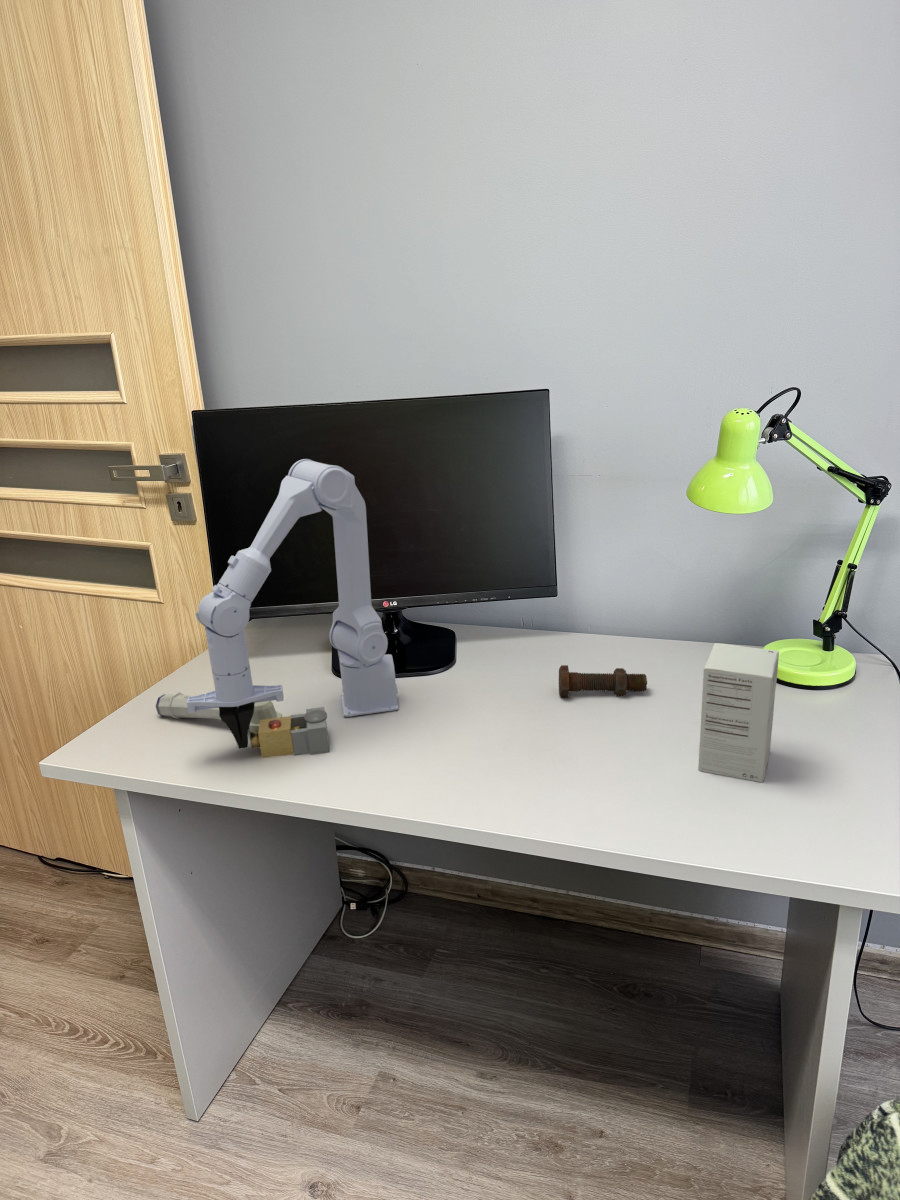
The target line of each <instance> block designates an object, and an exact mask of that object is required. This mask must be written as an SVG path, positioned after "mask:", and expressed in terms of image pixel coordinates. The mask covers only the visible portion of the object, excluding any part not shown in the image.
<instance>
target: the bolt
mask: <svg viewBox="0 0 900 1200" xmlns="http://www.w3.org/2000/svg"><path fill="white" fill-rule="evenodd" d="M647 685H648V679H647V675H646V674H645V673H627V671H626V669H625V668H622V667H621V668H619V667H617V668H615V669H614V671H613V673H610V672H609V673H608V672H607V673H606V672H605V673H604V672H602V673H601V672H597V673H595V672H591V673H590V672H576V671H575V672H573V671H571V672H570V670H569V665H568V664H567V665H566V664H565V665H564V664H563V665H562V664H561V666H560V667H559V668H558V696H559V697H560V698H561V699H569V695H570V693H572V692H574V693H575V692H576V693H578V692H613V694H614V695H615V696H616V697H625V696H626V695H627V692H633V693H634V692H635V693H636V692H637V693H638V692H641V693H642V692H645V691H647V689H648V686H647Z"/></svg>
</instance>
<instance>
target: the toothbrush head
mask: <svg viewBox="0 0 900 1200" xmlns="http://www.w3.org/2000/svg"><path fill="white" fill-rule="evenodd" d="M192 696H193V695H187V694H183V693H182V692H176V693H175V694H171V693H170V694H169V693H168V694H166V693H164V694H162V695H160V696H158V698H157V700H156V703H155V709H156V712H157V715H158V716H159V715H160V716H161V717H166V718H167V717H168V718H169V717H170V718H174V719H176V720H179V719H181V718H185V719H186V718H189V719H191V718H192V719H194V718H196V719H214V720H215V719H218V720H221V718H220V716H219V713H220V712H219V708H212V709H204V710H197V711H196V712H195V713H189V712H188V707H187V700H188V697H192ZM280 717H283V714H282V713H281V712H279V711H276V708H275V705H274V703H273V702H272V701H265V702H257V703H255V705H254V713H253V717H252V719H251V722H250V726H249V731H250V732H254V731H258V730H259V722H260V720H264V719H272V718H280Z"/></svg>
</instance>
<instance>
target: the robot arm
mask: <svg viewBox="0 0 900 1200" xmlns="http://www.w3.org/2000/svg"><path fill="white" fill-rule="evenodd" d="M355 481H356V480H355V475H353V474H352V473H350V472H349V471H348V470H346V469H344V467H342V466H339V465H335V464H334V465H333V464H328V463H323V462H318V461H314V460H312V459H309V458H303V459H300V460H298V461H296V462H295V463H293V464H292V466H291V467H290V469H289V470H288V474H287V475H285V477H284V478H283V479H282V480H281V483H280V486H279V491H278V495H277V497H276V499H275V501H274V502H273V505H272V506H271V508H270V509H269V511H268V513H267V515H266V517H265V519H264V521H263V522H262V524H261V526H260V528H259V530H258V531H257V533H256V536H255V537H254V539H253V541H252V543H251V545H250V546H249V547H248V548H243V549H241V550H240V549H239V550H238V551H237V552H236V554H235V556H234V555H231V556H230V557H229V559H228V561H227V564H228V566H227V569H226V570H225V571H224V573H223V575H222V576H221V578H220V579H219V581H218V583H217V584H215V585H213V587H212V589H211V592H209V593H208V594H206V595H204V596H203V597H202V599H201V600H200V602H199V604H198V607H197V610H198V611H197V612H195V617H196V619H197V621H198V622H199V623H200V625H202V626H203V627H204V628H205V629H204V630H205V631H204V632H205V636H206V644H207V649H208V655H209V662H210V667H211V672H212V674H211V675H212V679H213V685H214V690H212V691H209V692H205V693H201V694H198V695H197V694H196V695H191V696H192V697H188V700H187V707H188V712H189V713H195V712H196V711H197V710H204V709H212V708H219V712H220V713H219V716H220V718H221V719H220V720H221V721H222V723H223V724H225V726H226V727H227V729H229V731H230V733H231V734H232V736H233V737H234V740H235V742H236V744H237V747H238V749H244V748H248V745H249V736H248V735H249V731H250V728H249V726H250V722H251V719H252V717H253V713H254V705H255V703H257V702H265V701H271V702H272V701H273V702H274V701H276V702H284V690H283V684H280V685H262V684H258V685H257V684H256V685H254V684H253V676H252V671H251V670H252V669H251V665H250V660H249V653H248V646H247V645H248V644H247V638H246V634H245V627H246V626H247V625H248V624H249V622H250V621H249V620H250V608H251V606H252V602H253V601H254V599H255V598H256V596H257V595H258V592H259V591H260V590H261V588H262V586H264V585H263V584H265V581H266V580H267V578H268V576H269V574H270V573H271V572H272V568H271V567H272V566H271V561H270V559H271V557H272V556H273V555H274V553H275V552H276V550H277V549H278V548H279V546H280V545H281V544H282V542H283V541H284V539H286V537H287V536H288V534H289V532H291V531H290V530H292V528H294V525H295V524H296V523H297V522H298V520H299V519H300V518H302V517H306V516H308V515H309V516H310V515H312V514H316V513H317V514H318V513H320V512H322V511H323V510H324V511H325V512H327V513H328V514H329V515H330V516H331V517H332V524H333V525H332V526H333V538H334V552H335V566H336V567H335V568H336V569H335V570H336V580H337V593H338V607H337V608H336V609H335V610H334V611H333V612H332V623H331V624H332V625H331V627H330V630H329V634H328V635H329V636H328V637H329V642H330V644H331V646H332V647H333V648H334V649H336V650H337V655H338V656H337V657H338V660H339V670H340V676H341V678H340V679H341V686H342V694H341V695H340V697H341V698H340V699H341V706H342V714H343V717H344V718H348V717H354V716H356V717H357V716H363V715H370V714H379V713H383V712H391V711H398V710H399V705H398V686H397V681H396V671H395V664H394V659H393V655H392V654H389V653H388V654H386V653H387V650H388V645H389V642H388V637H387V635H386V633H385V632H384V629H383V622H382V619H381V617H380V615H379V614H378V613H377V611H376V610H375V609H374V607H373V606H372V605H373V604H372V592H371V574H370V556H369V542H368V540H369V539H368V523H367V522H368V521H367V506H366V502H365V499H364V497H363V496H362V494H361V493H360V491H359V489H358V487H357V486H356V482H355Z"/></svg>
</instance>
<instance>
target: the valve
mask: <svg viewBox="0 0 900 1200" xmlns="http://www.w3.org/2000/svg"><path fill="white" fill-rule="evenodd" d="M295 729H302V727H301V726H292V719H291V715H289V716H282V717H280V718H272V719H264V720H260V722H259V730H258V731H254V732H251V731H250V733H249V738H250V739H249V741H250V745H251V746H250V747H251V749H256V748H258V749H259V748H260V753H261V758H262V759H265V758H273V757H281V756H289V755H294V749H293V742H292V735H291V730H295Z"/></svg>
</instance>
